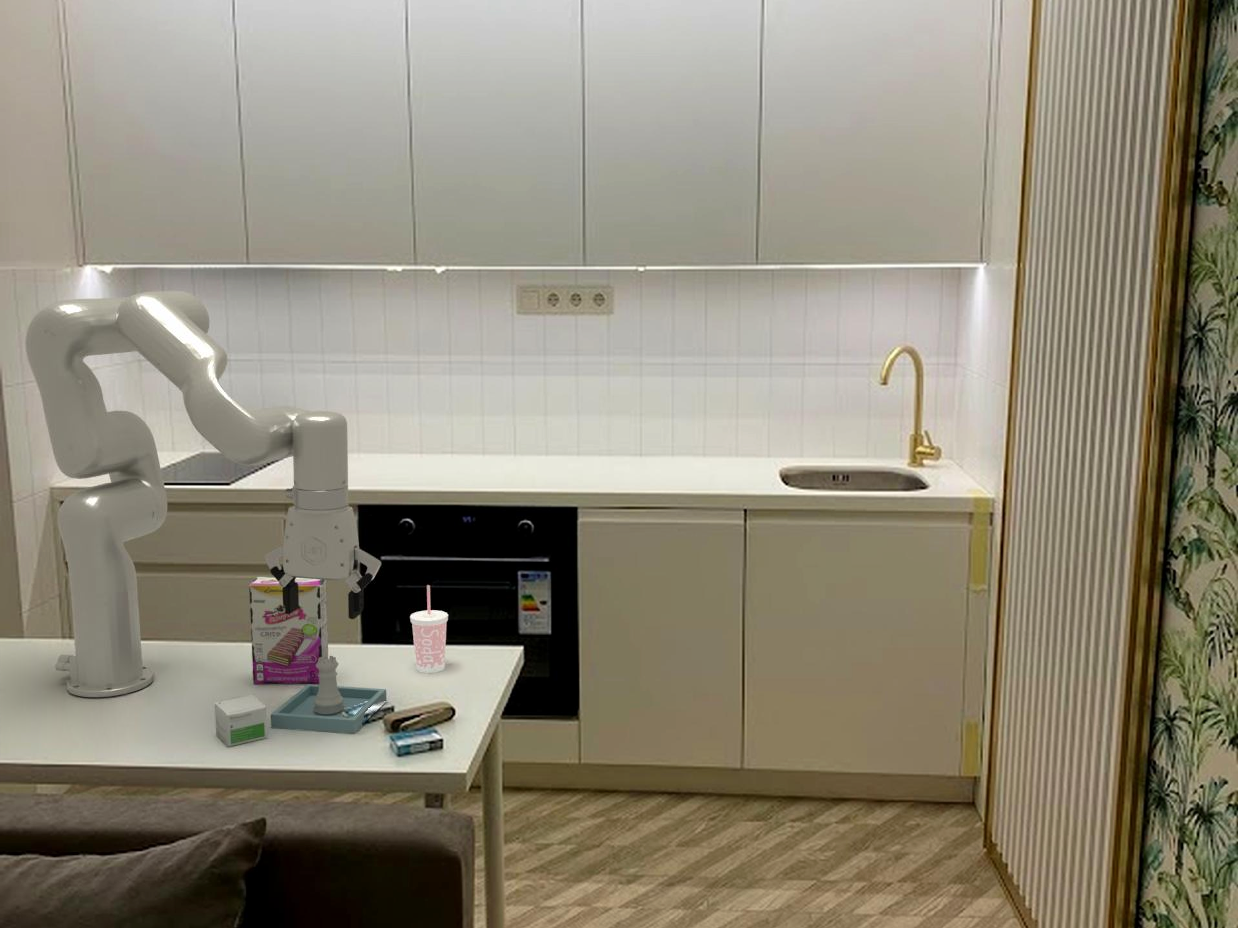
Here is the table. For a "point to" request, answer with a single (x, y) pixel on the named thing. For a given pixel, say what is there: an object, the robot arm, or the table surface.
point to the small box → (240, 720)
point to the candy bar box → (287, 632)
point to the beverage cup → (429, 638)
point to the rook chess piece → (328, 688)
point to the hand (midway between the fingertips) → (323, 613)
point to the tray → (303, 716)
